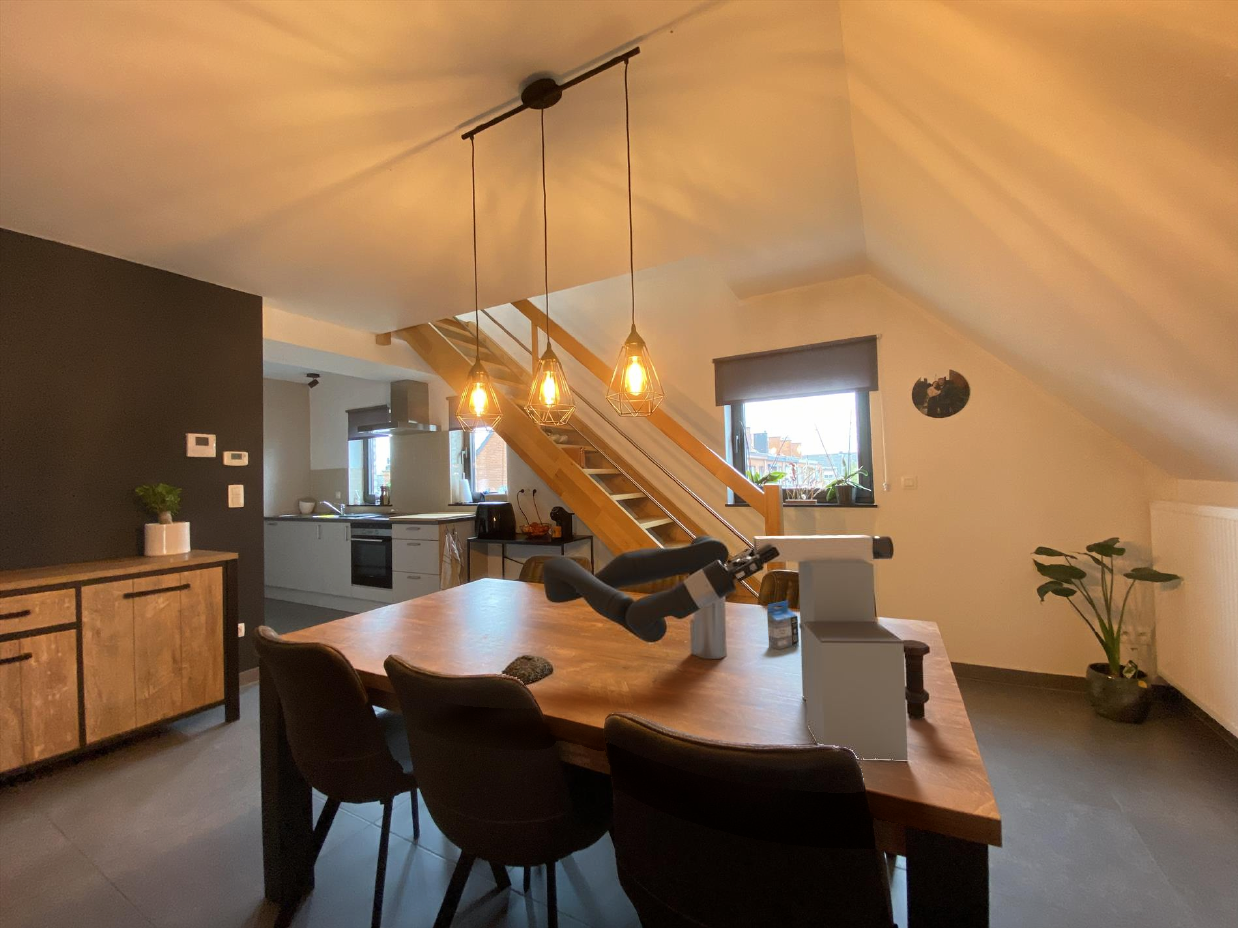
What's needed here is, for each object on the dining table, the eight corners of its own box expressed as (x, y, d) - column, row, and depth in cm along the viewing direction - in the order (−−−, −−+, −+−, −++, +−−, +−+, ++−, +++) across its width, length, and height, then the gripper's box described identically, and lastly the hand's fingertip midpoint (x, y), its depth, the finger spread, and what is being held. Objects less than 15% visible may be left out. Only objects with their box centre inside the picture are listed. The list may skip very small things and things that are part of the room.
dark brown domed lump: (559, 673, 134) (559, 654, 135) (521, 688, 125) (520, 668, 125) (530, 662, 143) (529, 644, 143) (491, 675, 134) (491, 656, 134)
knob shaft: (757, 562, 110) (756, 538, 110) (753, 558, 115) (753, 536, 115) (894, 561, 107) (893, 537, 107) (884, 557, 112) (883, 534, 112)
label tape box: (778, 650, 147) (777, 607, 148) (767, 646, 151) (766, 604, 151) (799, 644, 152) (798, 602, 152) (788, 640, 155) (787, 599, 155)
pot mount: (825, 759, 91) (819, 578, 92) (791, 695, 117) (786, 555, 118) (911, 761, 90) (905, 578, 90) (858, 696, 116) (853, 554, 116)
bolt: (895, 710, 109) (893, 639, 109) (918, 709, 109) (915, 638, 109) (913, 723, 103) (910, 648, 103) (937, 722, 103) (934, 647, 104)
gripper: (702, 575, 107) (770, 536, 105) (699, 563, 121) (759, 528, 120) (721, 607, 106) (790, 567, 105) (716, 591, 120) (776, 556, 119)
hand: (773, 547), depth 112 cm, fingers open, 8 cm apart
